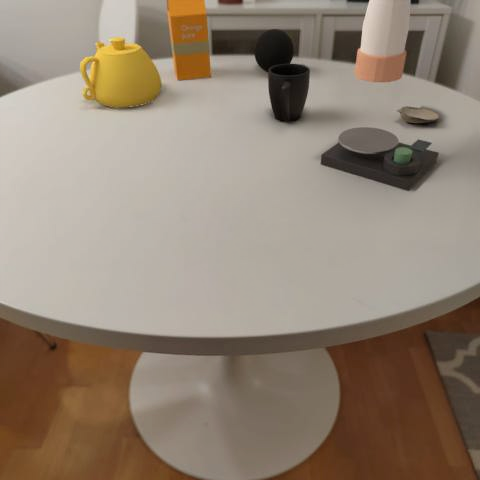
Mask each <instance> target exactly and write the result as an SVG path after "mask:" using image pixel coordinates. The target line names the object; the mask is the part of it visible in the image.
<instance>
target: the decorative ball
mask: <svg viewBox="0 0 480 480" xmlns="http://www.w3.org/2000/svg"><path fill="white" fill-rule="evenodd" d="M294 52H295V46H294V43H293V39H292V38H291V37H290V35H289V34H287V32H286V31H283V30H282V29H277V28H273V29H268V30H266V31H264V32H262V33H261V35H260V36H259V37H258V38H257V40H256V42H255V45H254V52H253V53H254V59H255V62H256V64H257V65H258V66H259V68H261V70H263V71H264V72H265V73H268V71H269V68H271V67H272V66H275V65H279V64H292V61H293V58H294Z"/></svg>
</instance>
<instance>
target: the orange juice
mask: <svg viewBox="0 0 480 480" xmlns="http://www.w3.org/2000/svg"><path fill="white" fill-rule="evenodd" d="M166 7H167V8H166V9H167V10H166V13H167V19H168V28H169V37H170V38H169V39H170V46H171V53H172V61H173V70H174V74H175V77H176V80H177V81H178V80H180V81H187V79H190V80H196V79H195V78H199V79H206V78H205V77H209V78H212V70H211V69H212V68H211V57H210V41H209V30H208V29H209V27H208V16H207V9H206V2H205V0H166Z"/></svg>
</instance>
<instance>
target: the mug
mask: <svg viewBox="0 0 480 480" xmlns="http://www.w3.org/2000/svg"><path fill="white" fill-rule="evenodd" d="M267 73H268V75H267V79H268V80H267V83H268V84H267V86H268V87H267V88H268V95H269V102H270V106H271V110H272V113H273V118H274V120H275V121H277V122H282V123H294V122H297V121H299V120H300V119H301V117H302V115H303V111H304V109H305V105H306V101H307V100H308V99H307V98H308V95H309V88H310V79H311V78H310V77H311V69H310V67H309V66H307V65H304V64H299V63H290V64H279V65H275V66H272V67H271V68H269V71H268V72H267Z"/></svg>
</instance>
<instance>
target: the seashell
mask: <svg viewBox="0 0 480 480" xmlns="http://www.w3.org/2000/svg"><path fill="white" fill-rule="evenodd" d="M396 111H397V113H399V114H400V117H401V119H402V120H403V121H405V122H407V123H410V124H425V123H430V122H431V123H432V122H434V121H437V120H439V119H440V116H439V114H438V113H437V112H435V111H432V110H429V109H425V108H422V107H416V106H402V107H400V108H399V109H397V110H396Z"/></svg>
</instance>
